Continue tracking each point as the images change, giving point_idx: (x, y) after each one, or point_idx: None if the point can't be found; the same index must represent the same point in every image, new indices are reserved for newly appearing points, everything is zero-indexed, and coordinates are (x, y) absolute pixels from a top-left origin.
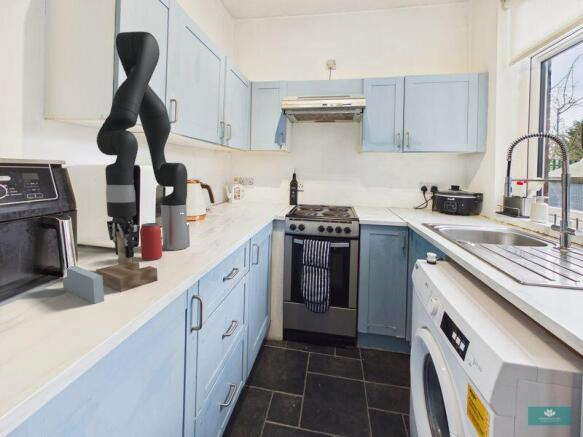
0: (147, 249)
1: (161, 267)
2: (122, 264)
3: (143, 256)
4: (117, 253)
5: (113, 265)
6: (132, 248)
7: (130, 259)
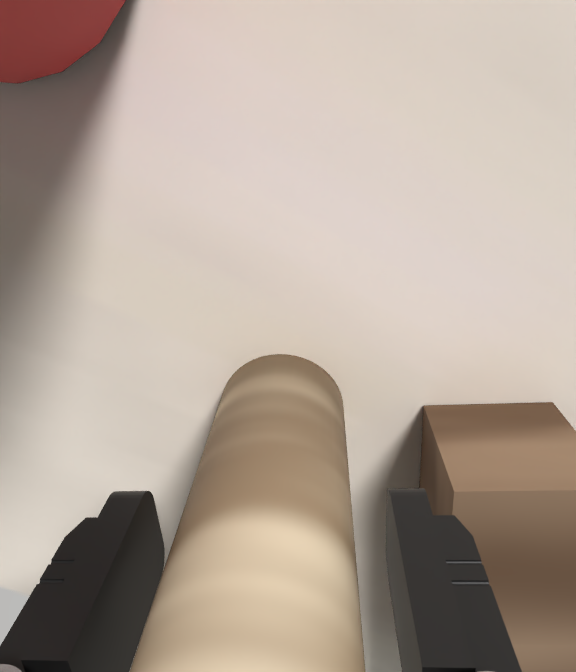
0: (9, 17)
1: (562, 99)
2: None
3: (10, 77)
4: (159, 576)
5: None
6: (503, 643)
7: (337, 456)
